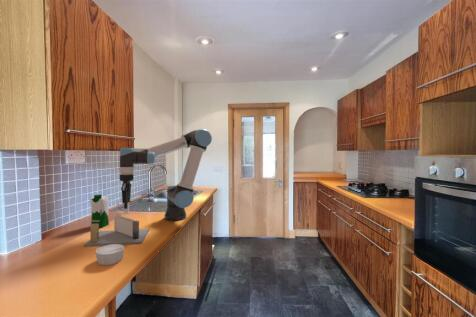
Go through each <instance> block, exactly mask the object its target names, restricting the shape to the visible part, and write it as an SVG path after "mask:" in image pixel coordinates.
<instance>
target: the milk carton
mask: <svg viewBox="0 0 476 317" xmlns="http://www.w3.org/2000/svg"><path fill="white" fill-rule="evenodd" d="M89 199H90V200H89V201H90V204H91V208H90V210H91V216H90V217H91V223H90V225H91V224H99V229H103V228H105V227H107V226H109V224H110V223H109V202H110V201H109V200H110V196H103V195H102V194H94V195H93V197H92V198H89Z"/></svg>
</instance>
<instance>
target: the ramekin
mask: <svg viewBox="0 0 476 317" xmlns="http://www.w3.org/2000/svg"><path fill="white" fill-rule="evenodd" d="M124 251H125V246H124V244H123V245H121V244H110V245H104V246H99V247H98V248H96V250H95V252H94V253H95V257H96V263H98V264H99V265H100V266H110V265H111V266H112V265H116V264H118V263H119V262H121V261H122V259H123V257H124Z"/></svg>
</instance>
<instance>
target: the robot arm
mask: <svg viewBox="0 0 476 317" xmlns="http://www.w3.org/2000/svg"><path fill="white" fill-rule="evenodd" d="M212 138H213V137H212V134H211V132H210V131H209V130H208V129H204V128H200V129H195V130H191V131H190V132H188V133H185V134H183V135H180V137H179V138H175V139H173V140H169V141H166V142H164V143H161V144H158V145H155V146H152V147H149V148H146V149H142V150H140V151H135V149H134V148H133V147H121V148H120V149H119V168H118V170H119V181H120V182H122V184H121V188H120V189H121V204H123V211H122V212H123V213H122V214H123V215H129V214H130V203H131V194H132V192H131V191H132V186H133V184H132V183H131V182H132V181H134V179H135V178H134V172H135V171H134V165H138V164H139V165H141V164H142V165H147V164H148V165H150V164H154V163H155V161H156V158H159V157H162V156H165V155H168V154H171V153H173V152H176V151H179V150H181V149H188V148H190V151H189V154H188V157H187V159H186V162H185V166H184V169H183V172H182V176H181V178H180V182H179V183H177V184H176V185H169V186H167V188H166V209H165V212H164V219H165V220H166V221H182V220H185V219H186V218H187V213H186V208H189V207H190V206H191V205H192V204H193V202H194V190H195V188H194V186H193V185H194V182H195V179H196V176H197V172H198V170H199V167H200V164H201V161H202V160H201V159H202V156H203V153H205V152H206V151H207V148H208V146H210V145H211V143H212V140H213V139H212Z"/></svg>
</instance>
